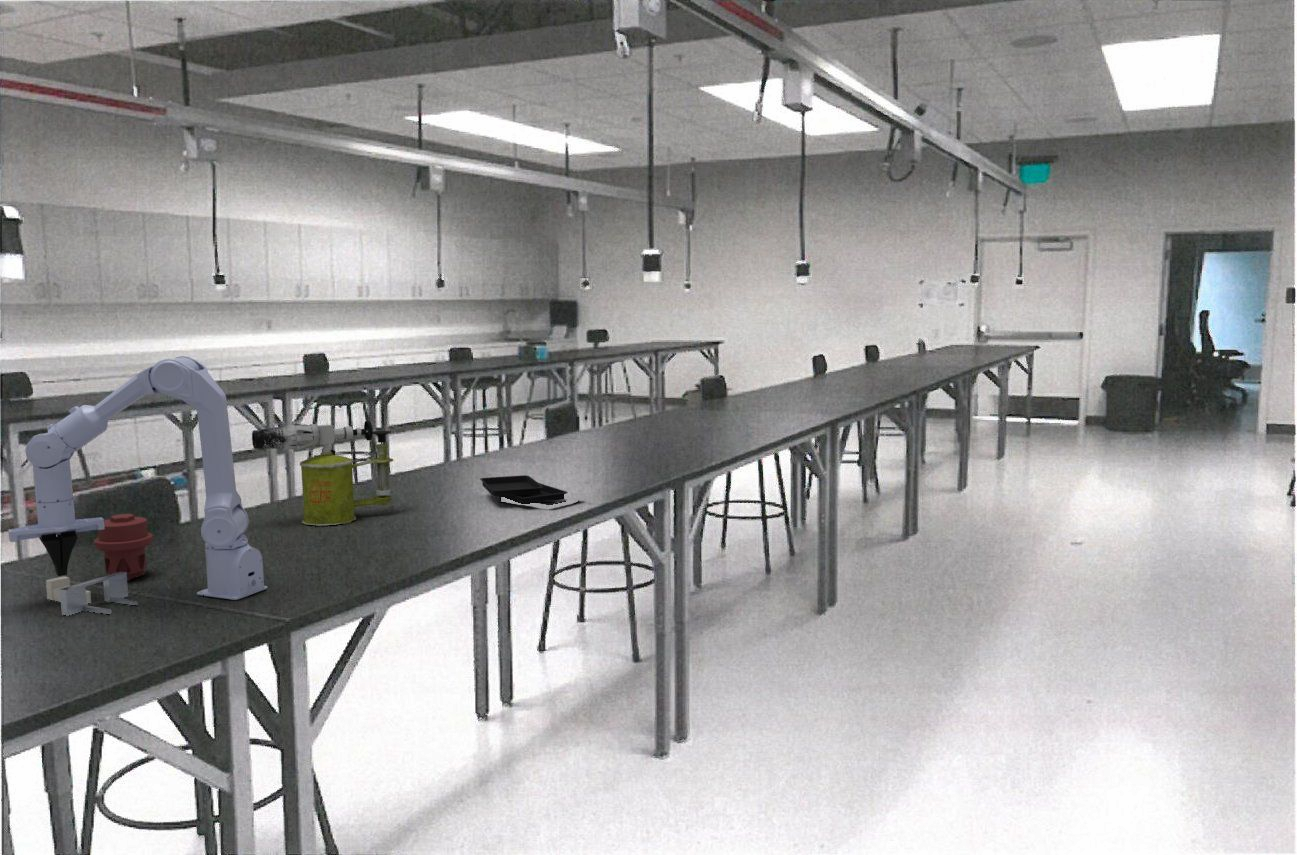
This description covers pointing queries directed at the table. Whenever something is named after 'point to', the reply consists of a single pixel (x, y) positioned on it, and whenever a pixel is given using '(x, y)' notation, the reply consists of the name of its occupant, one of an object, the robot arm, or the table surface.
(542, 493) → the tray
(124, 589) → the housing
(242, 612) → the table surface
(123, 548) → the mechanical component
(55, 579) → the cream l-shaped block
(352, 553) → the table surface
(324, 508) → the blowtorch
